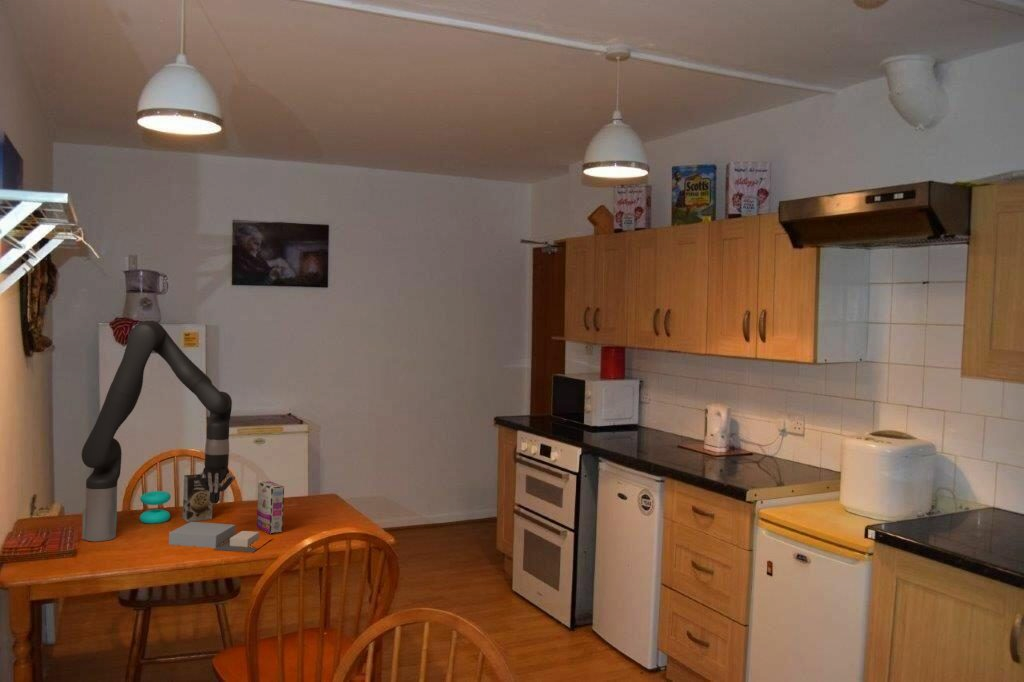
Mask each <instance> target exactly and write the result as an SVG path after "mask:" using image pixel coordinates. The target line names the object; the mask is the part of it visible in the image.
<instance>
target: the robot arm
mask: <svg viewBox="0 0 1024 682" xmlns="http://www.w3.org/2000/svg"><path fill="white" fill-rule="evenodd" d="M153 352H155V353H156V354H157V355H158V356H160V357H161V358H162V359H163V360H164V361H165V362H166V363H167V365H168V366H169V367H170V369H171V371H172V372H173V373H174V375H175V376H176V378H177V379H178V380H179V381H180V382H181V383H182V384H183V385H184V386H185V387H186V388H187V389H188V390H189V391H191V393H192V394H194V395H195V396H196V397H197V399H198V401H199V402H200V403H201V404H202V406H204V408H205V409H206V410H208V411H209V421H208V423H207V426H206V438H205V439H206V440H205V449H204V467H203V471H202V472H201V473H199V475H197V479H198V480H199V482H200V483H201V485H202V486H203V488H204V489H205V490H208V491H209V492H210V502H211V504H212V505H214V504H218V503H219V502H220V500H221V499H220V498H221V492H223V491H226V490H227V489H228V487H229V486H230V485H231V484H232V482H234V480H235V479H236V477H235V476H232V474H230V470H229V461H230V460H229V457H230V420H231V414H232V410H233V409H232V408H233V407H232V406H233V399H232V397H231V396H230V394H229V393H227V392H225V391H220V390H219V389H218V388H217V387H216V386H215V384H213V383H212V380H211V378H210V377H209V376H208V375H207V374H206V373H205V372H204V371H203V370H201V369H200V368H199V367H198V366H197V365H196V363H194V362H193V361H192V360H191V359H190V358H189V357H188V356H187V355H186V354H185V353H184V352H183V351H182V349H181V348H180V347H179V346H178V345H177V343H176V342H175V341H174V340H173V338H172V337H171V335H170V334H169V333H168V332H167V331H166V329H165V328H164V326H163V325H161V323H159V322H158V321H154V320H147V321H146V320H145V321H142V322H139V323H137V324H135V325H134V326H133V327H132V328H131V330H130V331H129V334H128V338H127V342H126V346H125V350H124V352H123V356H122V359H121V361H120V364H119V365H118V368H117V370H116V372H115V374H114V377H113V379H112V381H111V383H110V386H109V387H108V390H107V393H106V397H105V399H104V402H103V404H102V406H101V409H100V412H99V414H98V417H97V419H96V422H95V424H94V425H93V428H92V429H91V431H90V433H89V435H88V436H87V439H86V441H85V442H84V445H83V447H82V450H81V460H82V463H83V464H84V465H85V466H86V467H87V468H91V469H93V470H92V472H91V474H90V475H89V476H88V477H87V478H86V480H85V509H83V510H82V523H81V524H82V525H81V526H82V529H81V539H82V540H85V541H87V542H88V541H89V542H106V541H109V540H113V539H115V538H116V537H117V518H118V517H117V513H118V511H117V510H118V481H119V479H120V477H121V476H120V475H121V469H122V452H123V451H122V446H121V444H120V442H119V441H118V440H117V439H116V438H115V436H116V433H117V431H118V430H119V429H120V427H121V425H123V424H124V422H125V421H126V420H127V418H128V417H129V416H130V415H131V414H132V412H133V411H134V409H135V407H136V406H137V403H138V400H139V398H140V395H141V393H142V389H143V383H144V374H145V373H144V372H145V368H146V365H147V362H148V361H149V359H150V357H151V355H152V353H153ZM206 478H207V479H208V481H207V479H206ZM223 481H225V482H224V483H223Z"/></svg>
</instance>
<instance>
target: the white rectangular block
mask: <svg viewBox="0 0 1024 682" xmlns="http://www.w3.org/2000/svg"><path fill="white" fill-rule="evenodd" d="M259 537H260V531H250V530H241V531H240V532H238V533H235V535H234V536H233V537H231V538H230V546H242V547H248V546H249V545H251V544H253V543H254V542H255V541H257V540H258V539H259Z"/></svg>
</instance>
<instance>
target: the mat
mask: <svg viewBox="0 0 1024 682" xmlns="http://www.w3.org/2000/svg"><path fill="white" fill-rule="evenodd" d="M250 546H251V545H250ZM252 547H253V546H252ZM213 550H214V551H221V550H222V551H223V552H224V551H225V552H235V551H243V552H242V553H249V552H253V553H255V552H256V551H258V550H257V548H255V547H253V548H251V547H249V546H248V547H247V548H246V547H240V546H230V540H228V541H227V542H225V543H223V544H222V545H220V546H218V547H217V548H213ZM255 550H256V551H255ZM254 551H255V552H254Z"/></svg>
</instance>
